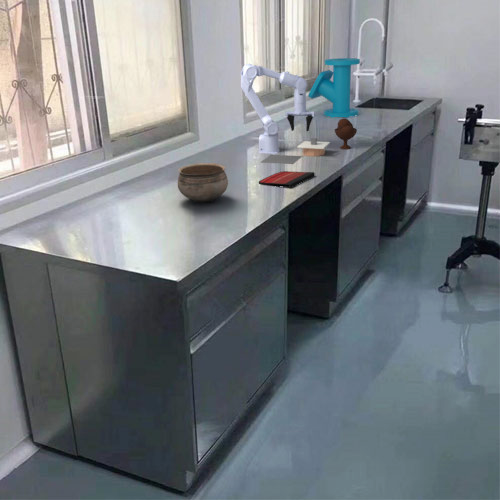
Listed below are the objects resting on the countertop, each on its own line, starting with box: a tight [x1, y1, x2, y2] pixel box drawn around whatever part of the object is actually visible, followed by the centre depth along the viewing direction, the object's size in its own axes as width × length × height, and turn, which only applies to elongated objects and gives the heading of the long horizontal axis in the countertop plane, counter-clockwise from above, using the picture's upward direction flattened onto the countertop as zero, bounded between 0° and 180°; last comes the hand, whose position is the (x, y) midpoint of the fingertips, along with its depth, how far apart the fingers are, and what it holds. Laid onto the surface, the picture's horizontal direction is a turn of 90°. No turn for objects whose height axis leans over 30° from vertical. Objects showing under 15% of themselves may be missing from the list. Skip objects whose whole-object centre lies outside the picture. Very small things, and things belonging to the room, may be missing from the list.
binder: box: [258, 170, 316, 189], centre depth 243 cm, size 16×2×21 cm
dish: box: [302, 147, 326, 157], centre depth 283 cm, size 10×10×4 cm
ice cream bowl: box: [334, 117, 358, 150], centre depth 292 cm, size 11×11×15 cm
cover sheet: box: [296, 137, 331, 149], centre depth 281 cm, size 13×13×4 cm
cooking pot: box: [177, 162, 229, 204], centre depth 219 cm, size 25×19×12 cm
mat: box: [260, 154, 303, 165], centre depth 275 cm, size 16×16×1 cm
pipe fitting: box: [308, 57, 361, 118], centre depth 384 cm, size 22×32×35 cm
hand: (300, 130), depth 290 cm, fingers open, 7 cm apart
